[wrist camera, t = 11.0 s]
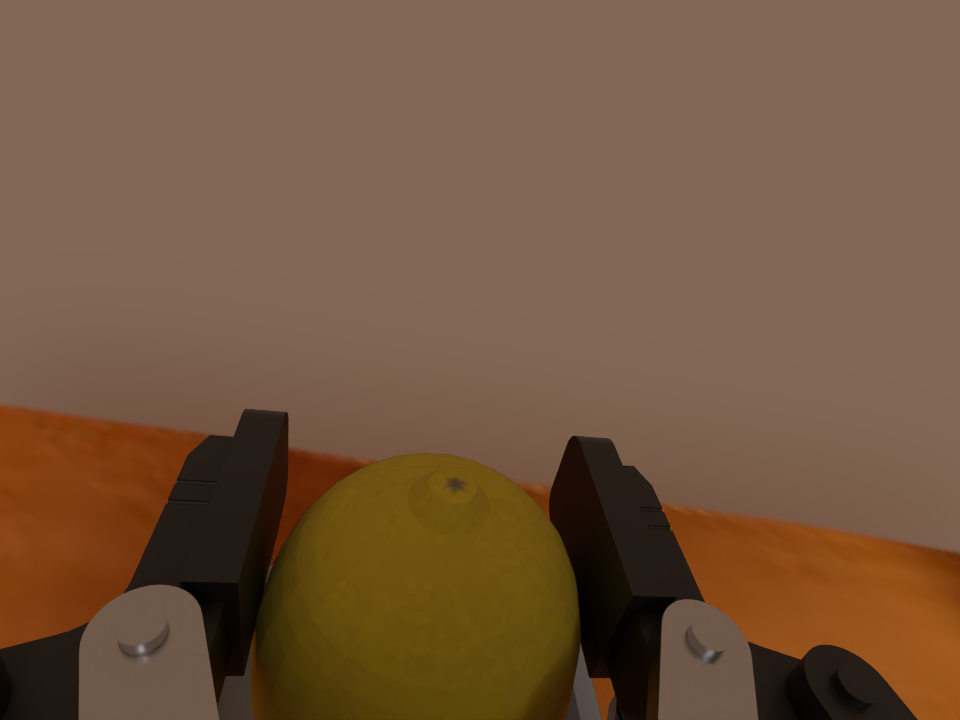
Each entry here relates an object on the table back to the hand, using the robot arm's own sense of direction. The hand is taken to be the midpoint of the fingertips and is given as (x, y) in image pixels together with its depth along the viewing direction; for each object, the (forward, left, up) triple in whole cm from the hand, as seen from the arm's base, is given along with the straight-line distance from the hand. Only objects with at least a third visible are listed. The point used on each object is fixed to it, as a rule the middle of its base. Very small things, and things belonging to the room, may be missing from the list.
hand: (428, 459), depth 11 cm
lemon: (0, +3, -6) cm, 7 cm away
